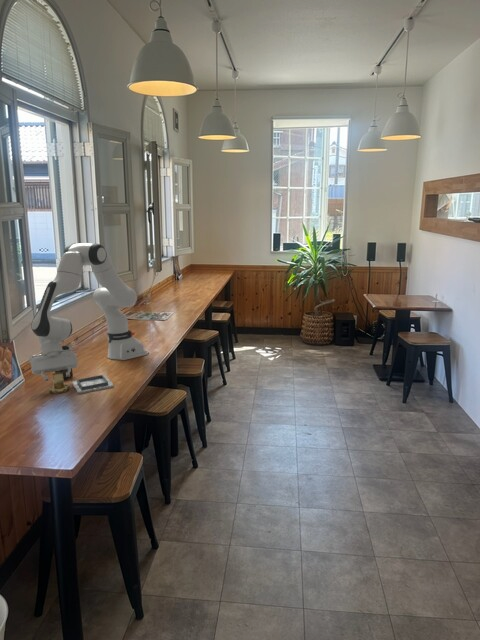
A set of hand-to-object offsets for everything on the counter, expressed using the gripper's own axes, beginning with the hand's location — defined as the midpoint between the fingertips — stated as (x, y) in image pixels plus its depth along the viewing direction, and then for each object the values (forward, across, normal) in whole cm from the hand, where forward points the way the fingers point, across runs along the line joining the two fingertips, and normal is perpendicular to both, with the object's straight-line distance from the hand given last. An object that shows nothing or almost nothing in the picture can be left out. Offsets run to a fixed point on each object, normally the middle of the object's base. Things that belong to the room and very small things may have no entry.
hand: (57, 378), depth 221 cm
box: (-9, +5, +17) cm, 20 cm away
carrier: (+6, +15, +2) cm, 16 cm away
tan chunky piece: (+4, 0, +4) cm, 6 cm away
